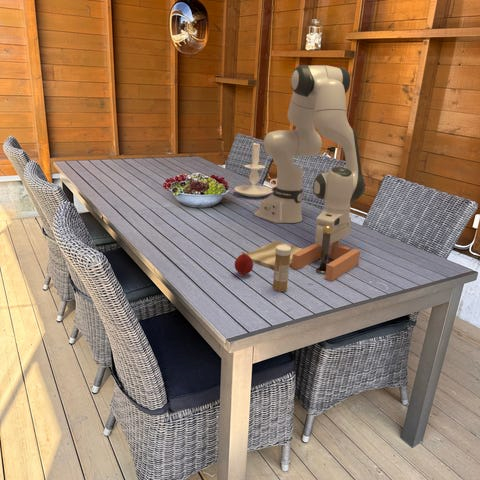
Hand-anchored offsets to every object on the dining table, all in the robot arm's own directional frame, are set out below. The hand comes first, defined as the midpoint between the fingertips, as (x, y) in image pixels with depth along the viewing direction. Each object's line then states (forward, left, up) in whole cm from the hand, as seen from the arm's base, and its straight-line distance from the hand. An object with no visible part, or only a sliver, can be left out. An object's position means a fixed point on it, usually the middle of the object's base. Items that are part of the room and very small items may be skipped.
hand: (331, 252), depth 163 cm
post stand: (+4, -14, -2) cm, 14 cm away
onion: (-13, -35, -2) cm, 37 cm away
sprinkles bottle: (+1, -35, -2) cm, 35 cm away
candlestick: (-72, +53, -2) cm, 90 cm away
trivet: (-14, -13, -2) cm, 19 cm away
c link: (+3, -9, -2) cm, 9 cm away
